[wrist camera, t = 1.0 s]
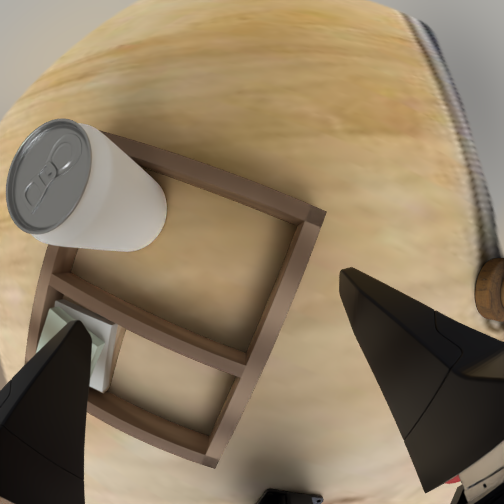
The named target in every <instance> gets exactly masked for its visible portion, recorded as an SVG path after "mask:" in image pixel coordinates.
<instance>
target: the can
mask: <svg viewBox="0 0 504 504" xmlns="http://www.w3.org/2000/svg"><path fill="white" fill-rule="evenodd" d="M6 201H7V207H8V210H9V213H10V216H11V218H12V220H13V221H14V223H15V224H16V225H17V226H18V227H19V228H20V229H21V230H23V231H24V232H26V233H29V234H31V235H32V236H33V237H35V238H36V239H37V240H39V241H41V242H43V243H46V244H50V245H55V246H63V247H73V248H84V249H96V250H109V251H123V252H130V251H136V250H139V249H142V248H144V247H146V246H147V245H149V244H150V243H151V242H153V241H154V240H155V238H156V237H157V236H158V235H159V233H160V232H161V230H162V228H163V226H164V223H165V220H166V214H167V203H166V198H165V194H164V192H163V190H162V188H161V187H160V185H159V184H158V183H157V182H156V181H155V180H154V179H153V178H152V177H151V176H150V175H149V174H147V173H146V172H145V171H144V170H143V169H142V168H141V167H140V166H139V165H138V164H137V163H135V162H134V161H133V160H132V159H131V158H130V157H129V156H128V155H127V154H125V153H124V152H123V151H122V150H121V149H120V148H119V147H118V146H117V145H115V144H114V143H113V142H112V141H111V140H110V139H109V138H107V137H106V136H105V135H104V134H103V133H101V132H100V131H99V130H97V129H96V128H94V127H92V126H90V125H87V124H82V123H77V122H75V121H73V120H69V119H55V120H51V121H49V122H46V123H44V124H43V125H41V126H39V127H38V128H37V129H35V130H34V131H33V132H32V133H31V134H30V135H29V136H28V137H27V138H26V139H25V141H24V142H23V143H22V145H21V146H20V147H19V149H18V151H17V153H16V154H15V156H14V159H13V161H12V163H11V166H10V169H9V173H8V177H7V183H6Z"/></svg>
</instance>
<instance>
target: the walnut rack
mask: <svg viewBox="0 0 504 504" xmlns="http://www.w3.org/2000/svg"><path fill="white" fill-rule="evenodd" d="M100 132H101V133H103V134H104V135H105V136H106V137H107V138H109V139H110V140H111V141H112V142H113V143H114V144H115V145H117V146H118V147H119V148H120V149H121V150H122V151H123V152H124V153H125V154H127V155H128V156H129V157H130V158H131V159H132V160H133V161H134V162H135V163H137V164H138V165H139V166H140V167H143V168H146V169H149V170H152V171H155V172H158V173H160V174H163V175H166V176H169V177H172V178H174V179H177V180H180V181H183V182H185V183H188V184H191V185H194V186H196V187H199V188H202V189H204V190H207V191H210V192H212V193H215V194H218V195H220V196H223V197H226V198H228V199H231V200H233V201H236V202H239V203H241V204H244V205H246V206H249V207H251V208H254V209H256V210H259V211H262V212H264V213H267V214H269V215H272V216H274V217H276V218H279V219H281V220H284V221H286V222H289V223H291V224H294V225H296V226H297V228H296V231H295V234H294V236H293V239H292V241H291V244H290V246H289V249H288V252H287V254H286V257H285V259H284V262H283V264H282V267H281V269H280V272H279V274H278V277H277V279H276V282H275V284H274V287H273V289H272V292H271V294H270V297H269V299H268V302H267V304H266V307H265V309H264V312H263V314H262V316H261V319H260V321H259V324H258V326H257V328H256V331H255V333H254V336H253V338H252V340H251V343H250V345H249V348H248V350H247V352H246V353H245V352H242V351H239V350H237V349H234V348H231V347H229V346H226V345H224V344H221V343H218V342H216V341H213V340H211V339H208V338H206V337H204V336H201V335H199V334H196V333H194V332H192V331H189V330H187V329H184V328H182V327H180V326H178V325H175V324H173V323H171V322H168V321H166V320H164V319H162V318H160V317H157V316H155V315H153V314H151V313H149V312H147V311H144V310H142V309H140V308H138V307H136V306H134V305H132V304H130V303H128V302H126V301H124V300H122V299H120V298H118V297H116V296H114V295H112V294H110V293H108V292H106V291H104V290H102V289H100V288H98V287H96V286H95V285H93V284H91V283H89V282H87V281H85V280H83V279H82V278H80V277H78V276H76V275H74V274H73V273H71V269H72V266H73V262H74V259H75V256H76V253H77V250H78V248H73V247H63V246H55V245H50V244H48V247H47V250H46V254H45V257H44V261H43V265H42V268H41V272H40V276H39V280H38V285H37V289H36V294H35V298H34V303H33V308H32V314H31V319H30V325H29V332H28V339H27V346H26V355H25V364H26V363H27V362H28V361H29V360H30V359H31V358H32V357H33V356H34V355H35V354H36V351H37V347H38V344H39V340H40V337H41V334H42V330H43V327H44V324H45V321H46V318H47V315H48V312H49V309H50V308H54V306H55V301H56V300H61V299H63V296H64V295H66V296H67V297H69V298H71V299H72V300H74V301H76V302H77V303H79V304H81V305H83V306H84V307H86V308H88V309H90V310H91V311H93V312H95V313H97V314H99V315H101V316H102V317H104V318H106V319H108V320H110V321H112V322H114V323H116V324H118V325H119V326H121V327H123V328H125V329H127V330H129V331H131V332H133V333H135V334H137V335H140V336H142V337H144V338H146V339H148V340H150V341H152V342H154V343H156V344H159V345H161V346H163V347H165V348H167V349H170V350H172V351H174V352H177V353H179V354H181V355H184V356H186V357H188V358H191V359H193V360H195V361H198V362H200V363H203V364H205V365H208V366H210V367H213V368H216V369H218V370H221V371H224V372H226V373H229V374H232V375H234V376H236V378H235V380H234V382H233V385H232V387H231V389H230V391H229V394H228V396H227V398H226V400H225V403H224V405H223V407H222V409H221V412H220V414H219V416H218V418H217V420H216V423H215V425H214V427H213V429H212V431H211V434H210V436H207V435H204V434H201V433H199V432H196V431H193V430H191V429H188V428H185V427H183V426H180V425H178V424H175V423H173V422H171V421H168V420H166V419H163V418H161V417H159V416H157V415H154V414H152V413H150V412H148V411H146V410H143V409H141V408H139V407H137V406H135V405H133V404H131V403H129V402H127V401H125V400H123V399H121V398H119V397H117V396H115V395H113V394H112V393H110V392H108V391H106V392H105V393H104V394H103V393H101V392H100V391H98V390H96V389H94V388H92V387H90V386H89V393H88V403H87V412H88V413H89V414H91V415H93V416H94V417H96V418H98V419H100V420H102V421H103V422H105V423H107V424H109V425H111V426H113V427H115V428H116V429H118V430H120V431H122V432H124V433H126V434H128V435H130V436H133V437H135V438H137V439H139V440H141V441H143V442H145V443H148V444H150V445H152V446H155V447H157V448H159V449H162V450H164V451H167V452H169V453H172V454H174V455H177V456H179V457H182V458H185V459H187V460H190V461H193V462H196V463H199V464H202V465H205V466H208V467H211V468H214V469H215V468H216V466H217V464H218V462H219V460H220V458H221V456H222V454H223V452H224V450H225V448H226V446H227V444H228V442H229V440H230V438H231V436H232V434H233V432H234V430H235V428H236V426H237V424H238V422H239V420H240V418H241V416H242V414H243V412H244V410H245V408H246V406H247V404H248V401H249V399H250V397H251V395H252V393H253V391H254V389H255V386H256V384H257V382H258V380H259V378H260V376H261V373H262V371H263V369H264V367H265V364H266V362H267V360H268V358H269V355H270V353H271V351H272V349H273V346H274V344H275V342H276V339H277V337H278V335H279V332H280V330H281V328H282V325H283V323H284V321H285V318H286V316H287V313H288V311H289V309H290V306H291V304H292V301H293V299H294V296H295V294H296V291H297V289H298V286H299V284H300V281H301V279H302V276H303V274H304V271H305V269H306V266H307V264H308V261H309V258H310V256H311V253H312V250H313V248H314V245H315V242H316V240H317V237H318V234H319V232H320V229H321V226H322V223H323V221H324V218H325V215H326V211H324V210H322V209H319V208H317V207H315V206H312V205H310V204H308V203H305V202H303V201H301V200H298V199H296V198H293V197H291V196H289V195H286V194H284V193H281V192H279V191H276V190H274V189H271V188H269V187H266V186H264V185H261V184H258V183H256V182H253V181H251V180H248V179H245V178H243V177H240V176H238V175H235V174H232V173H229V172H227V171H224V170H221V169H218V168H216V167H213V166H210V165H207V164H204V163H202V162H199V161H196V160H193V159H190V158H187V157H184V156H181V155H178V154H175V153H172V152H169V151H166V150H163V149H160V148H157V147H154V146H150V145H147V144H144V143H141V142H137V141H134V140H131V139H127V138H124V137H121V136H117V135H114V134H110V133H107V132H103V131H100Z"/></svg>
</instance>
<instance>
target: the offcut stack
mask: <svg viewBox="0 0 504 504" xmlns="http://www.w3.org/2000/svg"><path fill="white" fill-rule="evenodd" d="M72 320H80V321H82V323H83V324H84V326H85V327H86V329H87V330H88V332H89V333H90V335H91V337H92V353H91V374H90V385H89V386H90V387H92V388H94V389H96V390H98V391H100V392H101V393H103V394H104V393H105V392H106V391H107V390H108V389H109V388H110V385H111V381H112V377H113V373H114V369H115V365H116V362H117V358H118V355H119V351H120V347H121V344H122V341H123V337H124V334H125V331H126V329H125V328H123V327H121V326H119V325H118V324H116V323H114V322H112V321H110V320H108V319H106V318H104V317H102V316H101V315H99V314H97V313H95V312H93V311H91V310H90V309H88V308H86V307H84V306H83V305H81V304H79V303H77V302H76V301H74V300H72V299H71V298H69V297H67V296H66V295H64V296H63V299H61V300H56V301H55V306H54V308H50V309H49V312H48V315H47V318H46V321H45V324H44V327H43V330H42V334H41V337H40V340H39V344H38V347H37V351H36V353H37V352H38V351H39V350H40V349H41V348H42V347H43V346H44V345H45V344H46V343H47V342H48V341H49V340H50V339H51V338H52V337H53V336H55V335H56V334H57V333H58V332H59V331H60V330H61V329H62V328H63V327H64V326H65V325H66V324H67V323H68V322H69V321H72Z"/></svg>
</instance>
